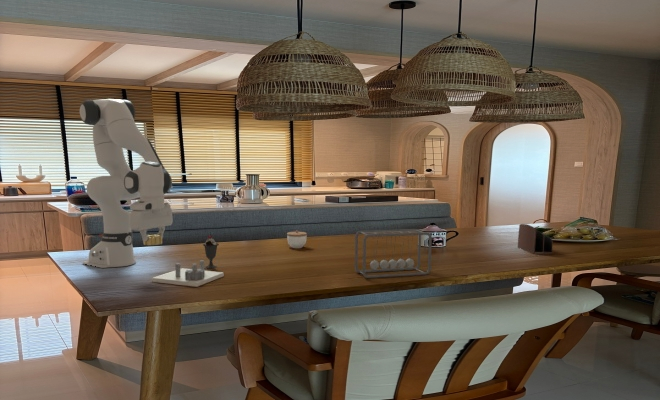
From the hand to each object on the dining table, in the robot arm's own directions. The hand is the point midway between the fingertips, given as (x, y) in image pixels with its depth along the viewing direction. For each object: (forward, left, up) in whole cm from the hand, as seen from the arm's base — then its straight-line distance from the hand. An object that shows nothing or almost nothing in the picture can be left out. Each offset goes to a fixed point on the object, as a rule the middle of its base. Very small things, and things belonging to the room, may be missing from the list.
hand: (153, 239), depth 189 cm
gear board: (+13, +4, -15) cm, 21 cm away
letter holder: (+143, +126, -16) cm, 191 cm away
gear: (0, 0, -2) cm, 2 cm away
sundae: (+9, +25, -15) cm, 31 cm away
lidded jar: (+23, +85, -15) cm, 90 cm away
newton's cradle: (+85, +44, -15) cm, 97 cm away
